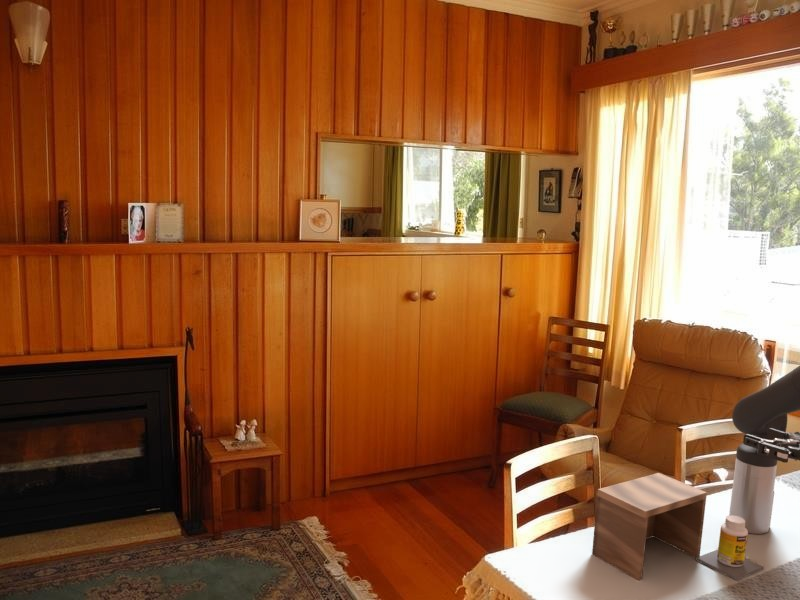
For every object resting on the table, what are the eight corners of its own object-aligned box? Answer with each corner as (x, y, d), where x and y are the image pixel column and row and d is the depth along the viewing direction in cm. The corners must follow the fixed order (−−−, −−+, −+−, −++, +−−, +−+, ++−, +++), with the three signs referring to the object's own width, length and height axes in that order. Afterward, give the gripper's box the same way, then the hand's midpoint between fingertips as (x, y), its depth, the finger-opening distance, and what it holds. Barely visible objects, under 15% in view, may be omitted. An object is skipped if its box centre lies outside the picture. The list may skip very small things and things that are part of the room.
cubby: (652, 533, 183) (658, 472, 181) (699, 557, 173) (706, 492, 170) (592, 554, 172) (597, 489, 169) (638, 580, 161) (645, 511, 159)
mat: (722, 549, 177) (722, 547, 177) (763, 568, 168) (763, 566, 168) (696, 560, 171) (696, 557, 171) (736, 580, 163) (736, 577, 163)
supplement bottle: (734, 570, 166) (739, 526, 164) (711, 559, 170) (716, 516, 169) (749, 564, 169) (754, 521, 167) (726, 553, 173) (731, 511, 172)
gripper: (856, 436, 149) (777, 413, 163) (818, 448, 141) (738, 423, 155) (851, 473, 150) (773, 447, 164) (813, 486, 143) (734, 458, 156)
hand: (756, 435), depth 159 cm, fingers open, 8 cm apart
